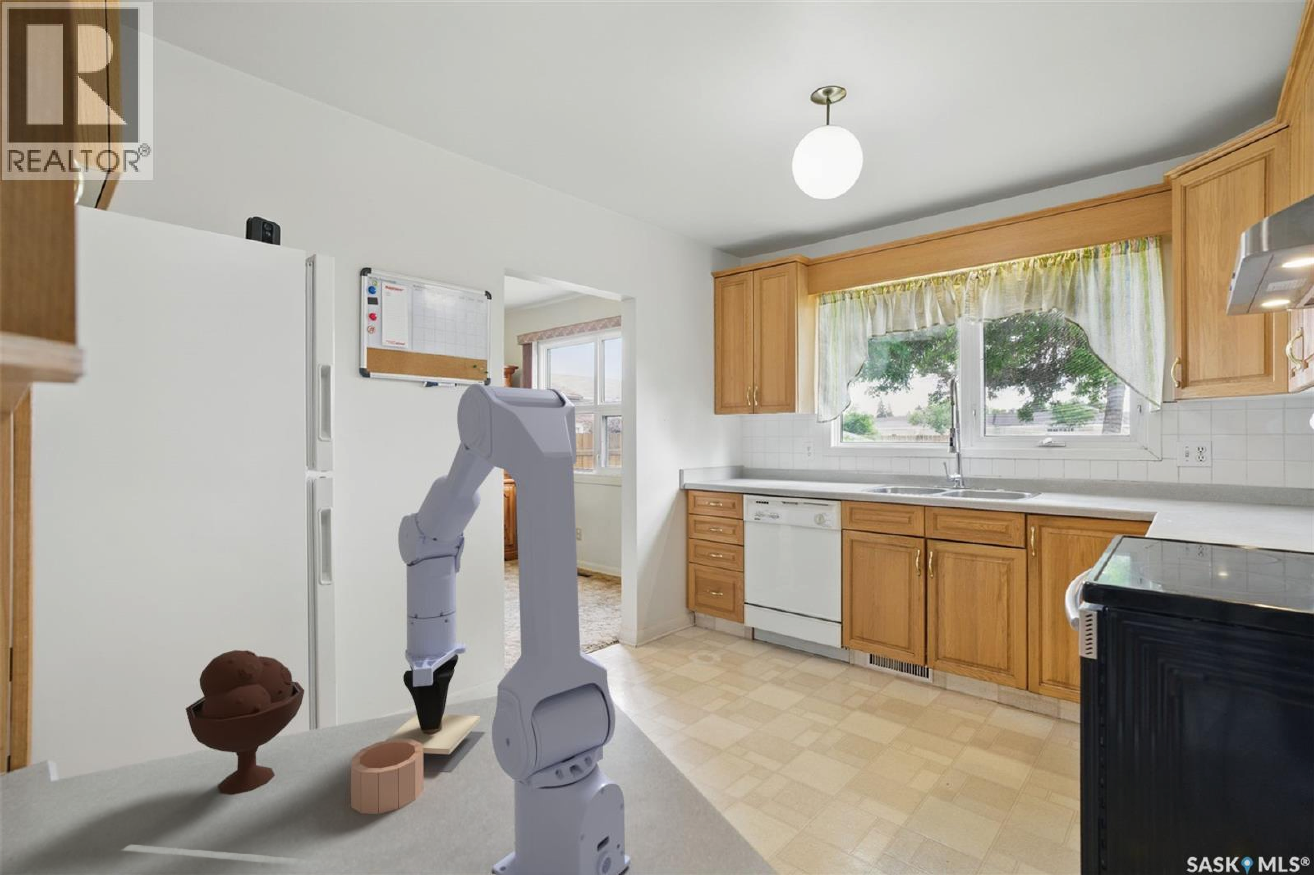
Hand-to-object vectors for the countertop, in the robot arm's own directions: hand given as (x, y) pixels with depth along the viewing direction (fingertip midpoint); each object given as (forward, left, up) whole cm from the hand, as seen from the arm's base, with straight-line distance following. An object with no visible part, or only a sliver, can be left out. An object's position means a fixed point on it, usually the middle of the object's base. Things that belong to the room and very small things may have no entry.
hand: (432, 723), depth 74 cm
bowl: (-4, +8, -4) cm, 10 cm away
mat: (0, 0, -4) cm, 4 cm away
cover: (0, 0, -1) cm, 1 cm away
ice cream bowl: (+11, +16, -4) cm, 20 cm away
